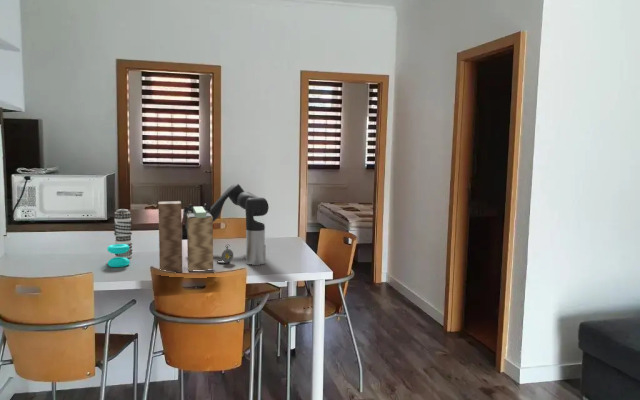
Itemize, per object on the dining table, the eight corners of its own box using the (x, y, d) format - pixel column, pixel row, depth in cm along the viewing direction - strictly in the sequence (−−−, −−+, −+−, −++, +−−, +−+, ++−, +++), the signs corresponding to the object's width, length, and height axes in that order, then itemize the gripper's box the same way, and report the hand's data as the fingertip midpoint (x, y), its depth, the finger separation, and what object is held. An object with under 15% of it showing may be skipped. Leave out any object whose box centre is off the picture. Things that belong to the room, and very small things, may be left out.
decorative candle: (137, 255, 264) (135, 209, 262) (123, 259, 256) (122, 211, 254) (124, 254, 268) (122, 208, 266) (110, 257, 260) (109, 210, 257)
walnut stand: (181, 266, 242) (180, 201, 239) (182, 271, 233) (181, 203, 230) (159, 267, 239) (158, 201, 236) (159, 272, 230) (158, 203, 227)
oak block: (210, 264, 247) (210, 212, 244) (213, 270, 235) (212, 216, 233) (187, 266, 243) (187, 213, 241) (189, 272, 232) (188, 216, 229)
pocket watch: (219, 261, 255) (219, 241, 254) (235, 262, 254) (235, 242, 253) (213, 264, 247) (213, 244, 246) (229, 265, 246) (229, 245, 245)
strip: (202, 211, 250) (202, 206, 250) (206, 217, 227) (206, 212, 227) (193, 211, 249) (192, 206, 248) (196, 217, 226) (196, 212, 226)
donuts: (106, 244, 244) (127, 242, 249) (106, 264, 245) (128, 262, 250) (108, 248, 235) (130, 246, 240) (109, 268, 236) (131, 266, 241)
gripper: (210, 224, 260) (213, 212, 245) (182, 225, 256) (183, 213, 241) (210, 211, 263) (212, 198, 248) (181, 212, 258) (182, 198, 244)
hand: (198, 205), depth 245 cm, fingers open, 6 cm apart
